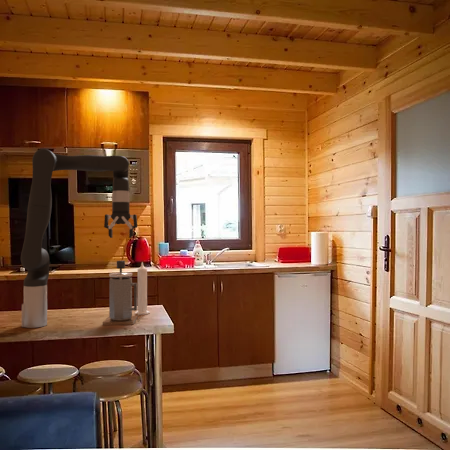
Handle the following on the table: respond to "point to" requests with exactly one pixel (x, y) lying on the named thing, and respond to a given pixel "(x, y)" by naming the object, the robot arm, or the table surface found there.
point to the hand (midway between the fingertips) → (120, 237)
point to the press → (121, 302)
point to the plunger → (121, 274)
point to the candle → (142, 291)
